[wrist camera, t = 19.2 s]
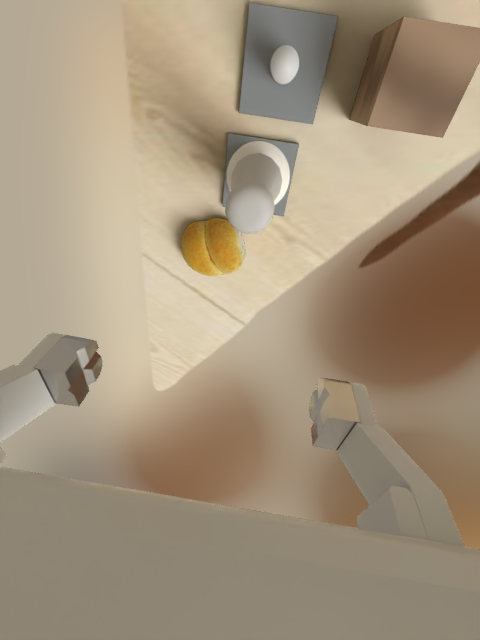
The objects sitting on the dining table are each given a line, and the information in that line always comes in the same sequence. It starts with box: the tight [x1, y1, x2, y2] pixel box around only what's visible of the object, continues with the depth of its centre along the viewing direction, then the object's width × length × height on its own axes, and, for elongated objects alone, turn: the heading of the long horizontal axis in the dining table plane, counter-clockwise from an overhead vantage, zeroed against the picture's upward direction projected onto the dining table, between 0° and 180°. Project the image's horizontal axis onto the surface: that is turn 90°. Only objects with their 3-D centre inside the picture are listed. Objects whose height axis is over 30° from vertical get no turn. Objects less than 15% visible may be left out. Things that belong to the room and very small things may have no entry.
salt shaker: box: [225, 153, 282, 234], centre depth 29 cm, size 6×6×13 cm
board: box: [239, 3, 338, 124], centre depth 26 cm, size 8×8×6 cm
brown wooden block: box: [349, 17, 480, 138], centre depth 25 cm, size 6×6×8 cm
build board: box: [223, 133, 299, 216], centre depth 34 cm, size 8×8×1 cm
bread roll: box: [181, 218, 246, 276], centre depth 39 cm, size 8×9×4 cm
